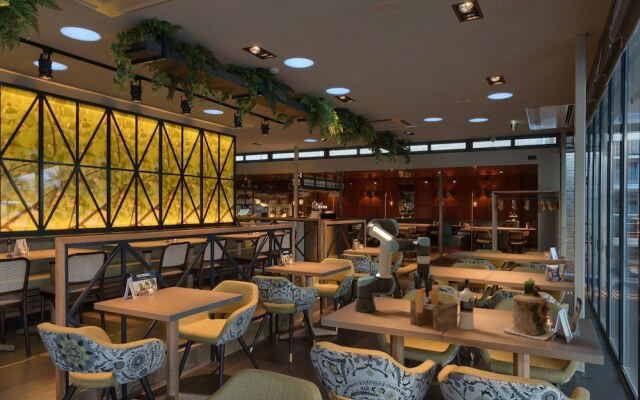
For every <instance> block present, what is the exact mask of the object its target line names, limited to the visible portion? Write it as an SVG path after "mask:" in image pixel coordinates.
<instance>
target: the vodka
mask: <svg viewBox="0 0 640 400" xmlns="http://www.w3.org/2000/svg"><path fill="white" fill-rule="evenodd" d="M474 298H475V293H473V292H472V291H471V290H470V279H469V278H465V279H464V289H463V290H462V291H460V293H459V311H458V312H459V318H458V323H457V327H458V328H459V329H460V330H463V331H473V330H474V329H475V323H474V322H475V321H474V312H475V311H474V301H475V299H474Z"/></svg>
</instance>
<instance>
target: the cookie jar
mask: <svg viewBox="0 0 640 400" xmlns="http://www.w3.org/2000/svg"><path fill="white" fill-rule="evenodd" d="M535 283H536V281H535V280H534V279H532V278H531V277H529V278H528V280H526V281H524V283H523V286H524V288H523V289H524V292H523V293H522V294H515V295H513V297H512V299H513V302H514V303H513V310H512V318H511V319H512V323H513V324H512V325H510V326H509V327H506V328H504V329H503V333H507V334H510V335H512V334H513V335H517V336H519V337H525V338H529V339H534V340H539V341H546V340H548V339H549V338H551V337H553V336H554V335H553V331H554V329H555V328H551V329H552V330H546V328H547V325H548V323H549V321H548V317H547V316H548V312H549V311H550V310H551V308H550V307H549V306H548V305H549V301H548V299H547V297H544V296H543V295H542V294H540V293H539V292H540V291H541V286H540V285H539V284H535Z"/></svg>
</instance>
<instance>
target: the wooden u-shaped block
mask: <svg viewBox="0 0 640 400" xmlns="http://www.w3.org/2000/svg"><path fill="white" fill-rule="evenodd" d="M439 289H440V288H439V287H438V286H432V291H429V297H430V296H431V297H430V299H431V305H435V306H437V305H438V300H439V296H440V295H439ZM424 292H425V287H424V288H421V289H418V290H417V289H415V298H416V311H415V312H419V313H421V312H423V299H424Z"/></svg>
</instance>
